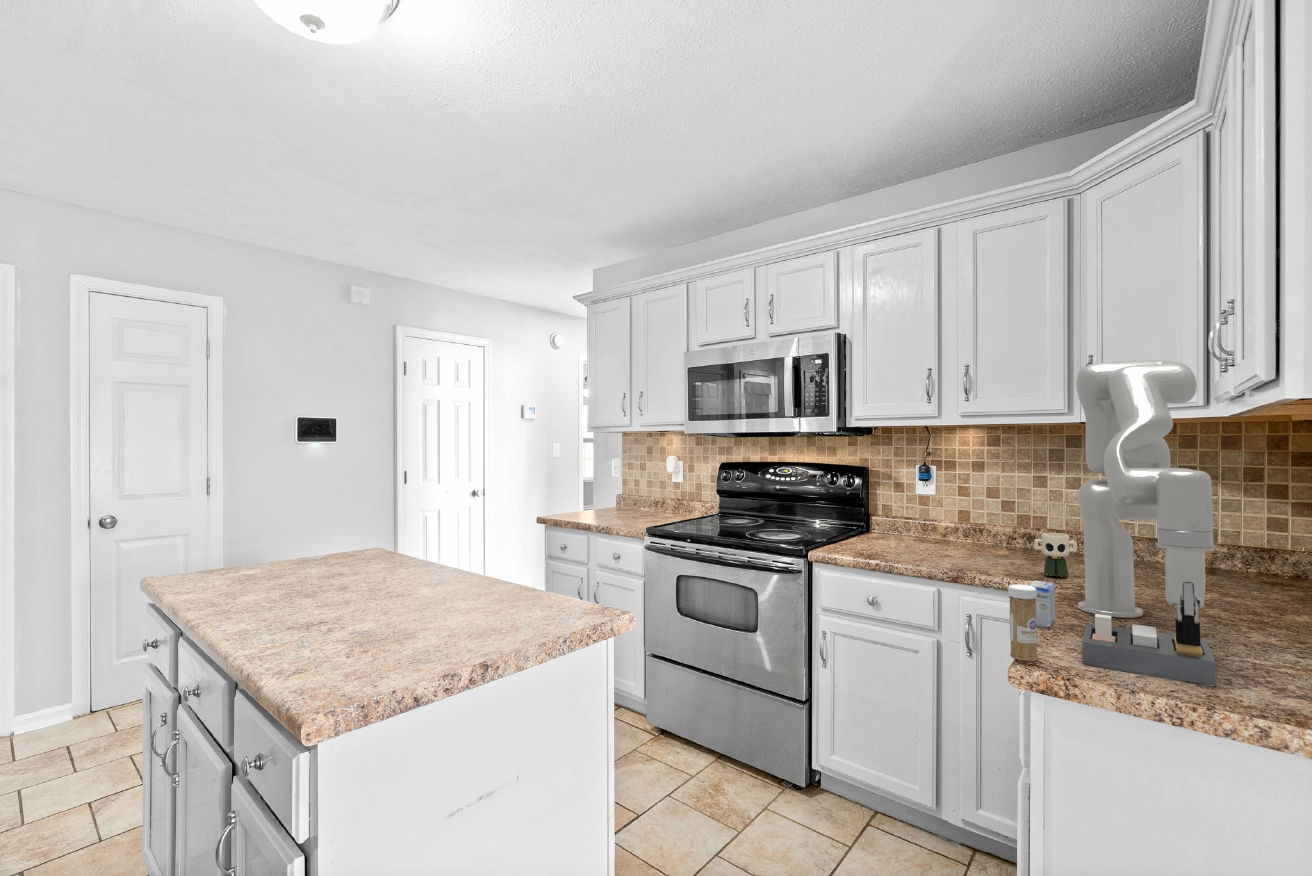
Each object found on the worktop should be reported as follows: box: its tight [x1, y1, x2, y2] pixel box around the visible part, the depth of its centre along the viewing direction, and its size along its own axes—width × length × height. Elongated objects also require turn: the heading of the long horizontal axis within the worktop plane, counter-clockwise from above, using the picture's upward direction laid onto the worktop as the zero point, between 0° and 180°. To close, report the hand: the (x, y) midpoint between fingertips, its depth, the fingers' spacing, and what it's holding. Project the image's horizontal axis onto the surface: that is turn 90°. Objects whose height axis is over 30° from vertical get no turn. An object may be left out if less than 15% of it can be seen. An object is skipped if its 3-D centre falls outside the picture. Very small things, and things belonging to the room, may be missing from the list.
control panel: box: [1082, 623, 1217, 687], centre depth 113 cm, size 15×18×4 cm
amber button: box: [1174, 637, 1203, 655], centre depth 109 cm, size 8×3×2 cm, turn 143°
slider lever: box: [1092, 614, 1115, 642], centre depth 115 cm, size 4×3×5 cm
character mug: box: [1033, 532, 1078, 577], centre depth 189 cm, size 11×7×13 cm, turn 58°
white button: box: [1132, 624, 1157, 648], centre depth 113 cm, size 8×3×2 cm, turn 143°
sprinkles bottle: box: [1007, 584, 1039, 663], centre depth 116 cm, size 5×5×13 cm
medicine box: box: [1028, 580, 1056, 628], centre depth 140 cm, size 8×4×9 cm, turn 141°
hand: (1188, 643), depth 109 cm, fingers closed
